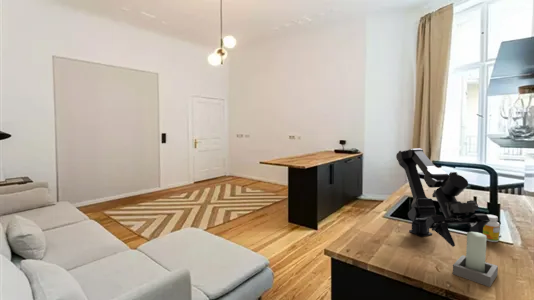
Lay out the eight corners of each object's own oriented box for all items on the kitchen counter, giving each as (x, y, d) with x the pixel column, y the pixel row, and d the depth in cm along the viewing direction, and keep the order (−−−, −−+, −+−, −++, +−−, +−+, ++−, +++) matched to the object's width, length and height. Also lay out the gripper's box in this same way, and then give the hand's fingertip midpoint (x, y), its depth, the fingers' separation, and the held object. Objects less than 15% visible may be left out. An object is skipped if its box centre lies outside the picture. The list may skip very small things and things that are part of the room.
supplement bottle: (478, 237, 112) (479, 214, 111) (490, 236, 113) (491, 213, 112) (489, 242, 107) (491, 218, 106) (502, 241, 107) (503, 218, 106)
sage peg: (468, 268, 89) (470, 230, 88) (486, 275, 85) (488, 235, 84) (462, 273, 86) (464, 234, 85) (481, 280, 83) (483, 239, 81)
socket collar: (461, 263, 92) (462, 255, 92) (497, 274, 85) (497, 265, 85) (452, 273, 86) (453, 264, 86) (490, 287, 79) (490, 277, 79)
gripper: (431, 192, 92) (451, 237, 82) (487, 190, 92) (514, 236, 82) (418, 207, 101) (434, 249, 91) (469, 206, 100) (491, 248, 91)
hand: (468, 245), depth 88 cm, fingers open, 9 cm apart
